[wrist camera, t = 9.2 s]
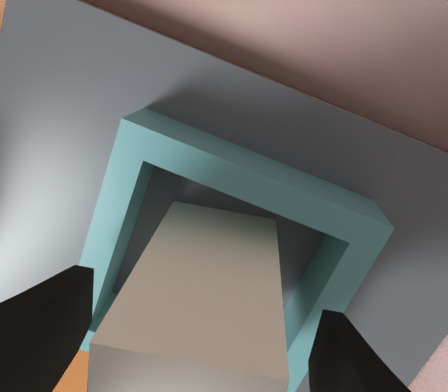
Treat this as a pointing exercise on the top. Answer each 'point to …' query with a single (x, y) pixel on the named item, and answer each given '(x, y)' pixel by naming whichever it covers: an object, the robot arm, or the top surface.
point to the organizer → (212, 178)
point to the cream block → (197, 310)
